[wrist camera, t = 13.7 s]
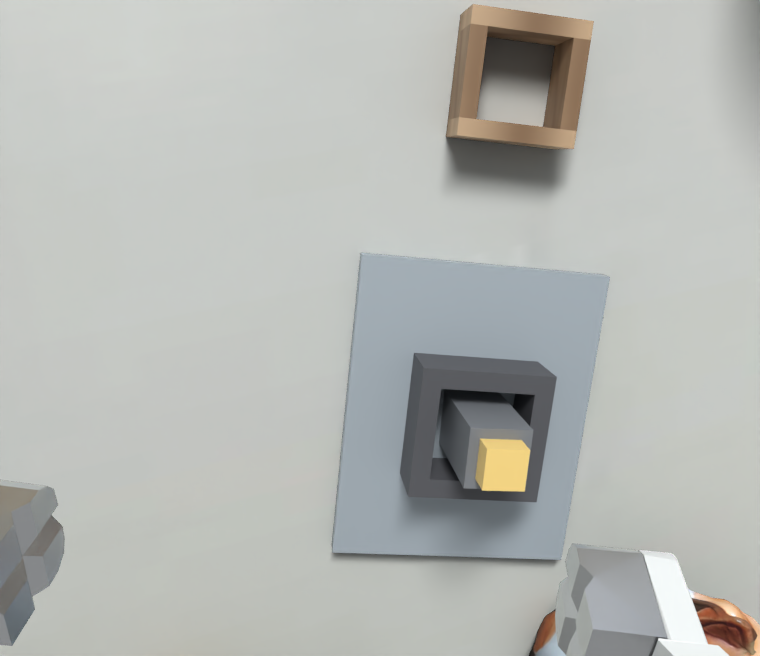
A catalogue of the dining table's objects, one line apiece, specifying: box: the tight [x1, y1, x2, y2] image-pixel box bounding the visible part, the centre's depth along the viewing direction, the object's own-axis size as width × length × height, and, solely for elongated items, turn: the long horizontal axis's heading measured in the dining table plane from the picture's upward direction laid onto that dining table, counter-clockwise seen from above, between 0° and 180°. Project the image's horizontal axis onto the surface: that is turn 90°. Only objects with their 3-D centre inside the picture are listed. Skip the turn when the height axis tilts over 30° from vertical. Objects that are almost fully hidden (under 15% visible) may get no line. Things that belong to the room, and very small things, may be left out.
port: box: [332, 253, 610, 560], centre depth 46 cm, size 16×20×4 cm
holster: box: [446, 4, 594, 149], centre depth 43 cm, size 7×7×3 cm
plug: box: [439, 389, 533, 492], centre depth 43 cm, size 4×4×8 cm
